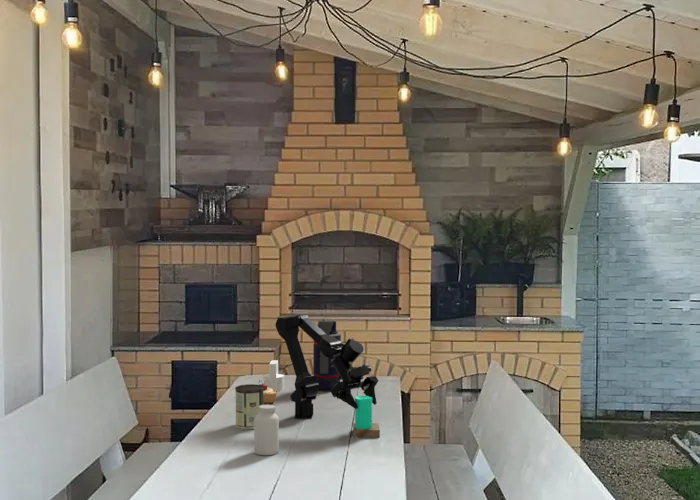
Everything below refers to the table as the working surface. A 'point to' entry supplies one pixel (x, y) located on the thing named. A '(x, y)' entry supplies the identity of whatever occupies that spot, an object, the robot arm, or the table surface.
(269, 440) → the pill bottle
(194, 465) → the table surface
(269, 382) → the base with upright slab
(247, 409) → the coffee can
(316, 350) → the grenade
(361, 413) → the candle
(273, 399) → the pastry
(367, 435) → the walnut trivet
